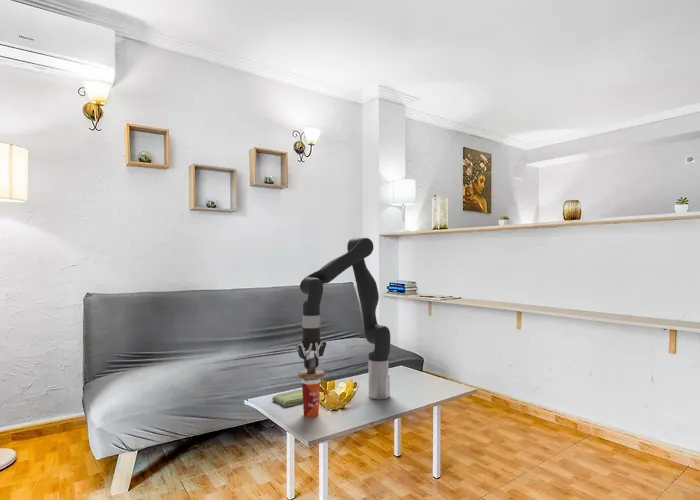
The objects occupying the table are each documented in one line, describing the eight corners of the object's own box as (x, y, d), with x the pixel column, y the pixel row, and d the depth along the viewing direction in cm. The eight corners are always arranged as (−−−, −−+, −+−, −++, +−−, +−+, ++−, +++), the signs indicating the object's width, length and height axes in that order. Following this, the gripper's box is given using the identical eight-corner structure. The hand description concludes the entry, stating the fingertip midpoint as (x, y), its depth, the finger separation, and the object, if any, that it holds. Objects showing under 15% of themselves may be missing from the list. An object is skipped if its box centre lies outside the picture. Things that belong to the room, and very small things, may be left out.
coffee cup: (313, 419, 166) (313, 381, 167) (296, 415, 170) (297, 378, 171) (325, 413, 173) (325, 376, 174) (309, 409, 178) (309, 374, 178)
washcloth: (318, 400, 191) (319, 393, 191) (285, 409, 179) (285, 401, 179) (302, 393, 201) (302, 387, 201) (270, 401, 189) (270, 394, 189)
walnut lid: (329, 373, 175) (329, 356, 175) (316, 380, 165) (316, 362, 165) (306, 370, 180) (306, 354, 180) (292, 377, 170) (292, 359, 170)
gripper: (300, 328, 166) (300, 372, 165) (330, 325, 174) (330, 367, 173) (291, 326, 172) (291, 368, 171) (321, 323, 180) (321, 363, 180)
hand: (311, 367), depth 172 cm, fingers closed on walnut lid, 3 cm apart
